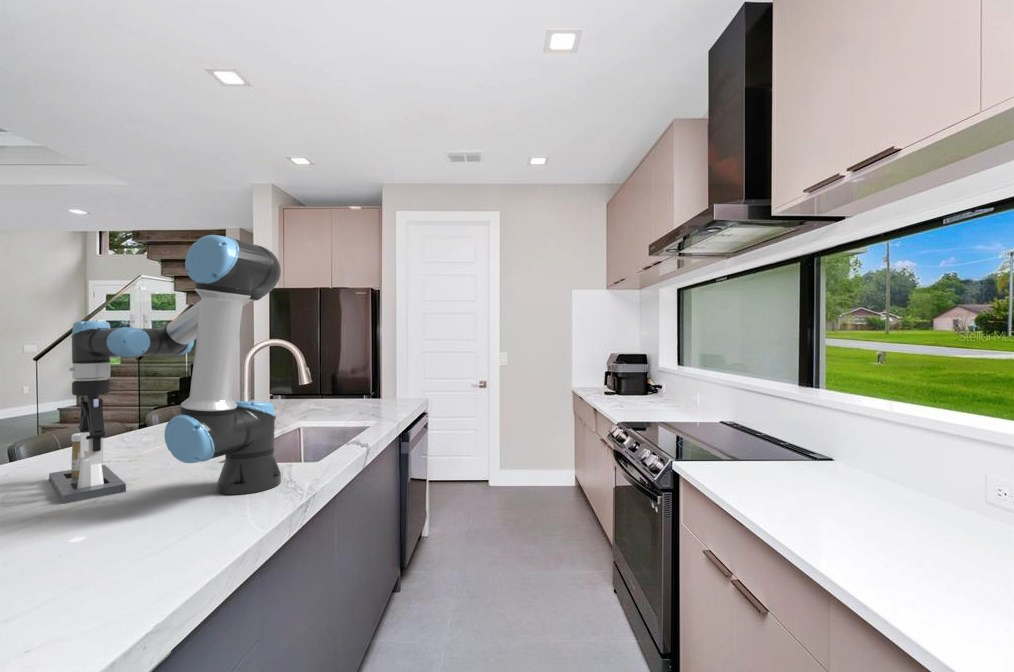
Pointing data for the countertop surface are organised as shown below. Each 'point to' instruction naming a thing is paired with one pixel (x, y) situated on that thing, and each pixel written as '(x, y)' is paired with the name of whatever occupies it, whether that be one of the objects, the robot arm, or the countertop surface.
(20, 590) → the countertop surface
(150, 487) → the countertop surface
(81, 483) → the pepper shaker
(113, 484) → the bolt plate
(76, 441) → the sprinkles bottle
